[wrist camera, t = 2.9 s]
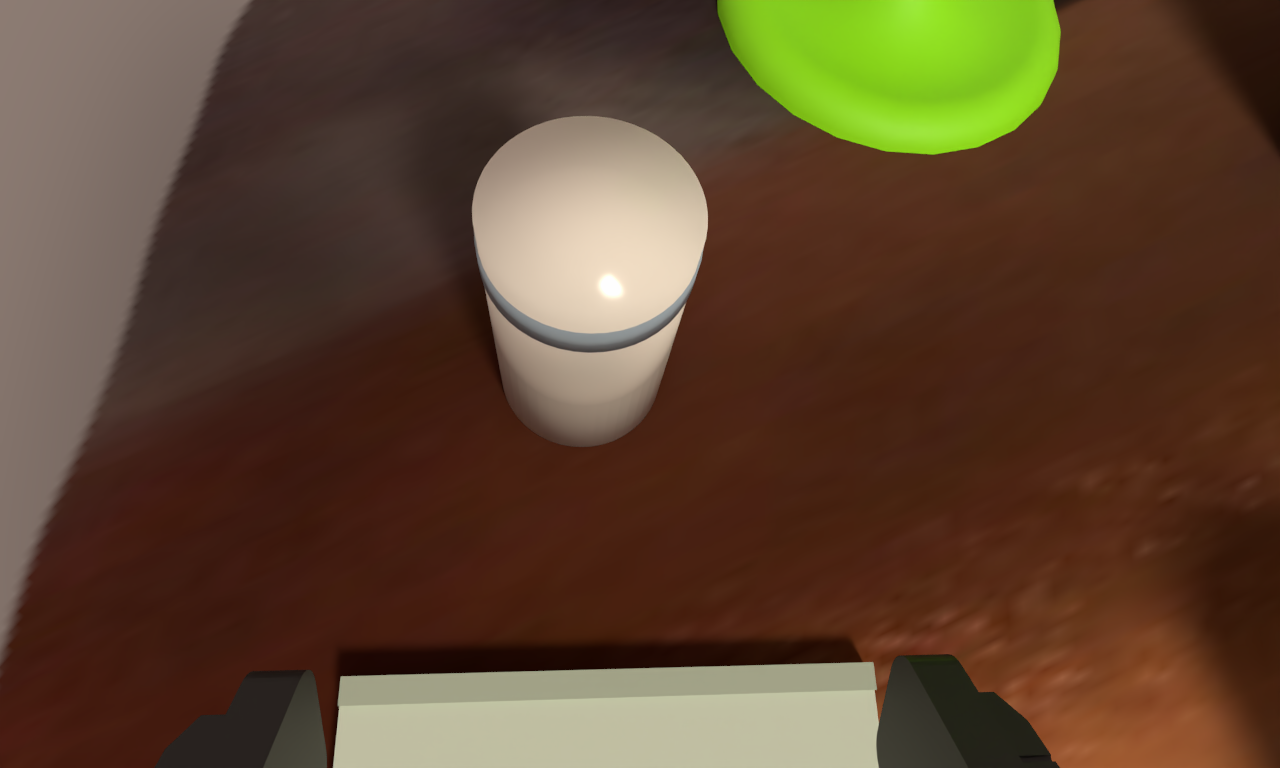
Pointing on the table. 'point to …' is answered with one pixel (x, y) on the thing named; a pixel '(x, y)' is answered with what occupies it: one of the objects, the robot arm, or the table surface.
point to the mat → (613, 718)
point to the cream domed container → (586, 271)
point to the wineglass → (900, 65)
